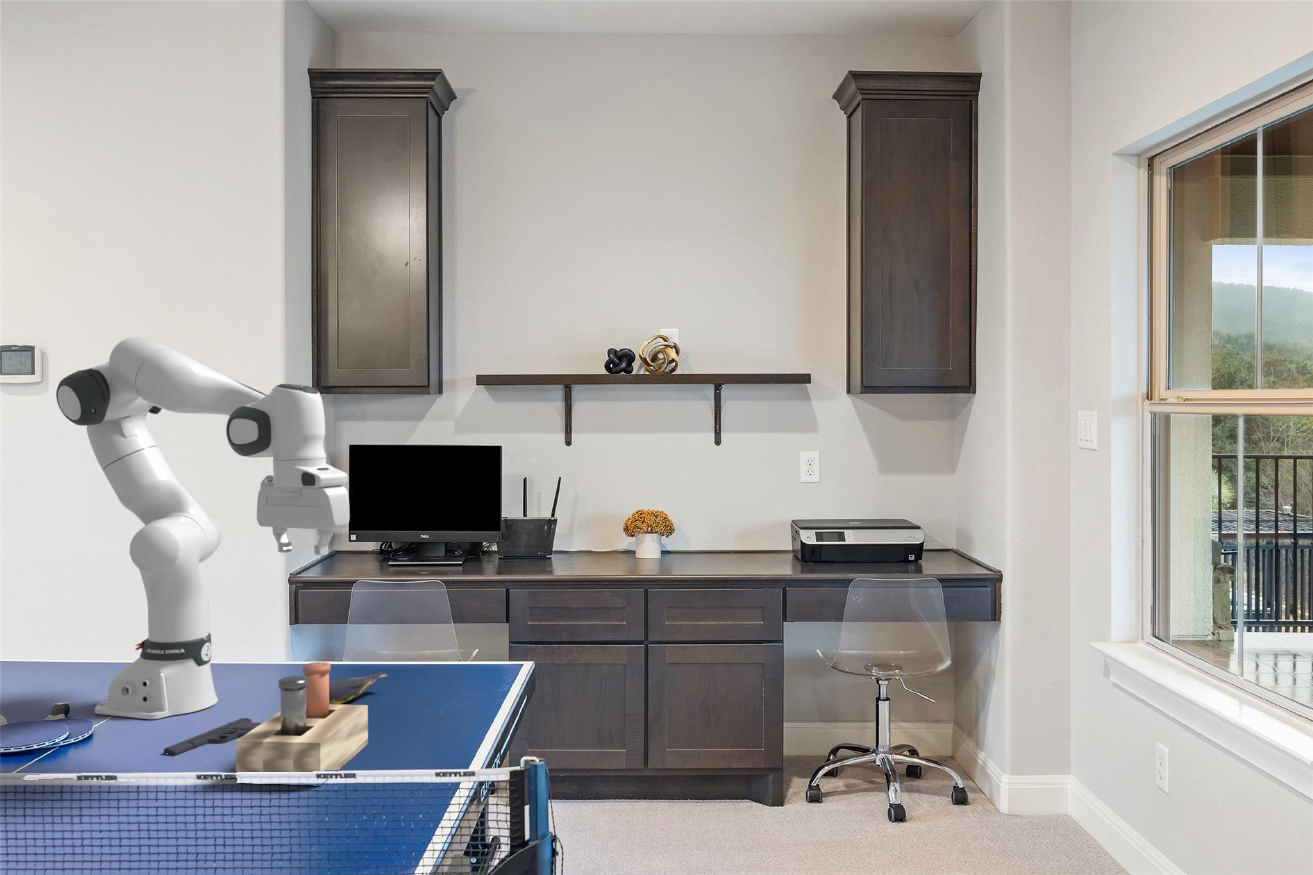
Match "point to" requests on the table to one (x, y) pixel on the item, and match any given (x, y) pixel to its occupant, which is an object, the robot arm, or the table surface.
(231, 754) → the table surface
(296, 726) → the metal plug
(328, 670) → the rust plug
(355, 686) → the bird model
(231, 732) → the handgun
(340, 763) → the beech block
